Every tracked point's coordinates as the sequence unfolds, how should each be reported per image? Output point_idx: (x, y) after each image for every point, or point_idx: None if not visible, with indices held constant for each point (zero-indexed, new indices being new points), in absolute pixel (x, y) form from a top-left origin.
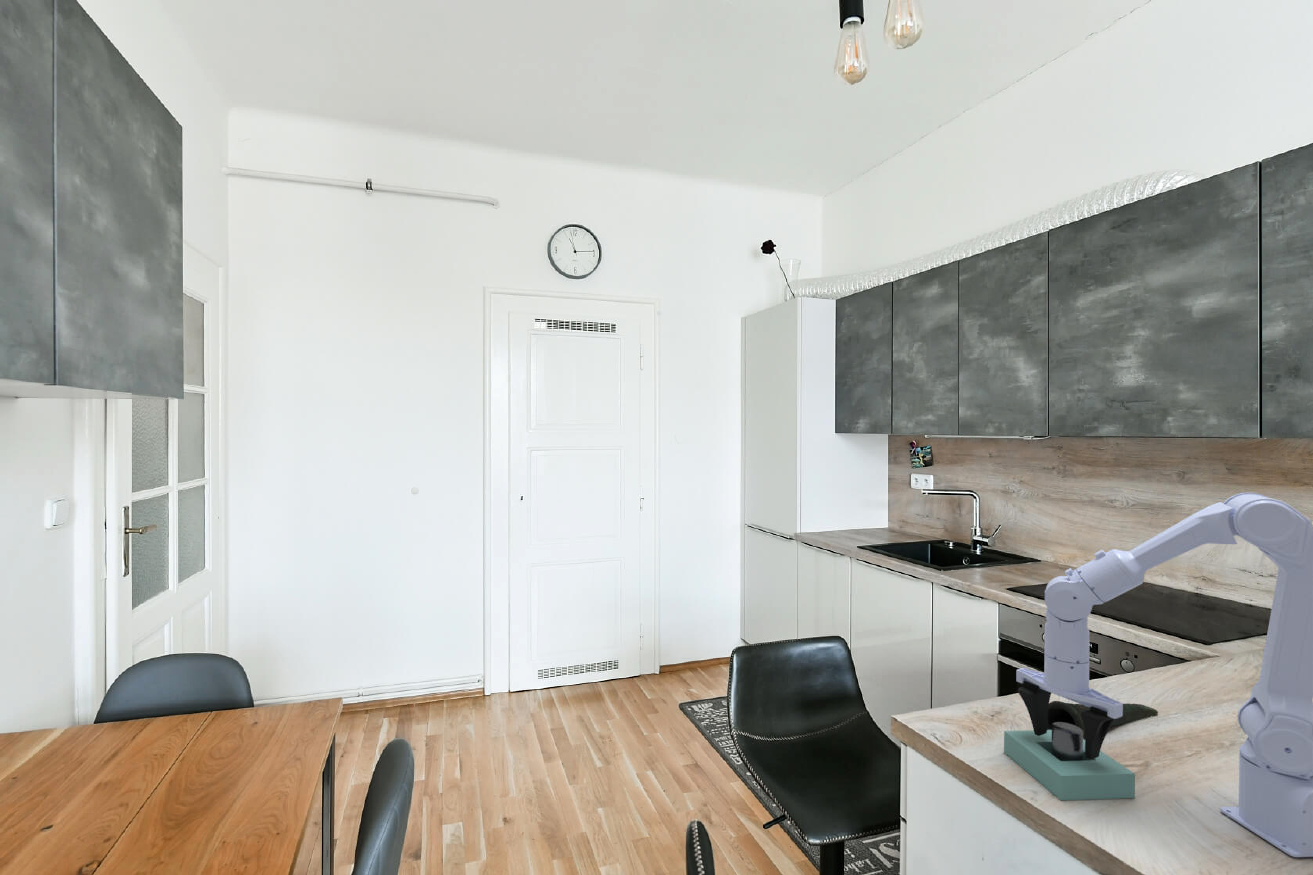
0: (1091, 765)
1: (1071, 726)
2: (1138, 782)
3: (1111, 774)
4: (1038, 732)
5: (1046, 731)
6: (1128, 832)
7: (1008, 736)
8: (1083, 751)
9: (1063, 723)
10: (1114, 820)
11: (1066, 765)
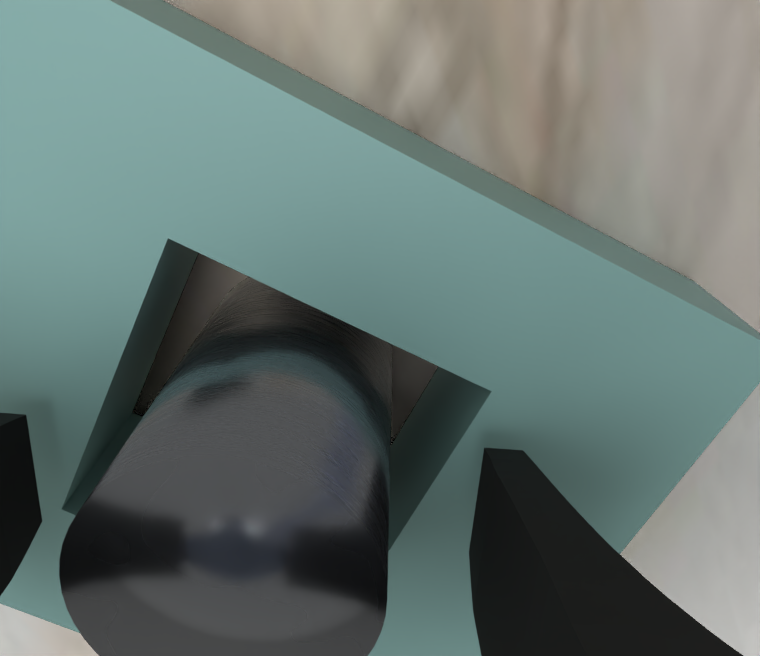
0: None
1: (216, 516)
2: (653, 5)
3: (649, 513)
4: (26, 548)
5: (18, 426)
6: (752, 634)
7: None
8: (344, 319)
9: (118, 513)
10: (676, 595)
11: (395, 640)
